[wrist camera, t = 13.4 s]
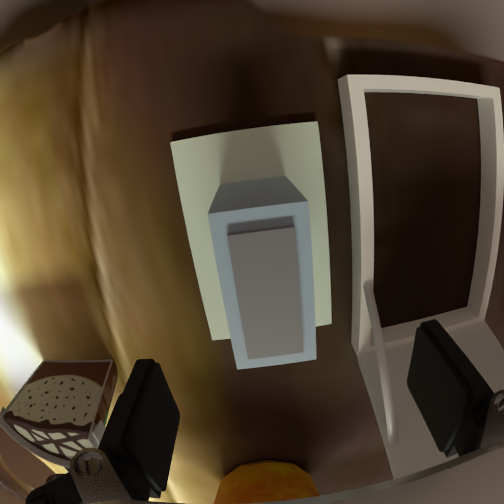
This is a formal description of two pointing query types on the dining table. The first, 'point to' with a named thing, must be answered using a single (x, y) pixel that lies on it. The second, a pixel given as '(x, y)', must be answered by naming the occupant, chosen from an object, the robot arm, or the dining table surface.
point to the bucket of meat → (265, 483)
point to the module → (265, 270)
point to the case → (363, 301)
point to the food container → (62, 408)
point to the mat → (243, 169)
